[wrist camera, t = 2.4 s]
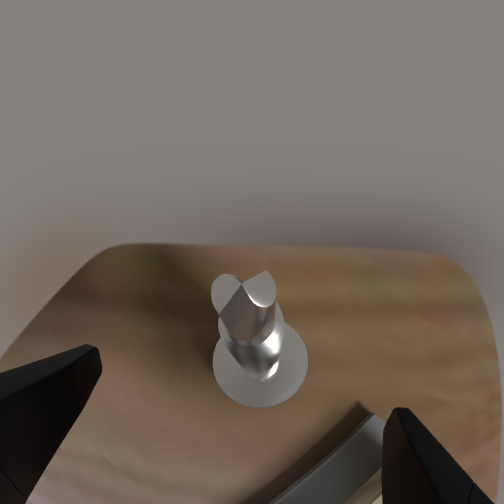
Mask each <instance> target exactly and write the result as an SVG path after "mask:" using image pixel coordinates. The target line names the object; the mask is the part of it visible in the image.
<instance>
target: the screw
mask: <svg viewBox="0 0 504 504" xmlns="http://www.w3.org/2000/svg"><path fill="white" fill-rule="evenodd" d="M211 299H212V303H213V305H214V307H215V309H216V311H217V313H218V315H219V320H218V329H219V333H220V336H221V337H220V339H219V341H218V343H217V344H216V347H215V351H214V354H213V370H214V375H215V377H216V380H217V382H218V384H219V386H220V387H221V389H222V390H223V391H224V393H225V394H227V395H228V396H229V397H230V398H231V399H232V400H234V401H236V402H238V403H240V404H242V405H245V406H249V407H255V408H265V407H272V406H275V405H278V404H280V403H283V402H284V401H286V400H287V399H289V398H290V397H291V396H292V395H293V394H294V393H295V392H296V391H297V390H298V389H299V388H300V386H301V384H302V383H303V381H304V379H305V376H306V373H307V366H308V357H307V350H306V348H305V345H304V342H303V341H302V339H301V337H300V336H299V334H298V333H297V332H296V331H295V330H294V329H293V328H292V327H291V326H289V325H288V324H286V323H285V322H284V318H283V315H282V312H281V309H280V307H279V305H278V303H277V302H276V286H275V282H274V280H273V278H272V276H271V275H270V274H269V273H268V271H267V270H265V271H264V272H262V273H260V274H258V275H256V276H255V277H253V278H251V279H249V280H247V281H246V282H243V281H241V280H240V279H238V278H237V277H235V276H233V275H231V274H223V275H220V276H219V277H217V278H216V279H215V281H214V282H213V284H212V288H211Z"/></svg>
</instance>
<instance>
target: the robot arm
mask: <svg viewBox="0 0 504 504" xmlns="http://www.w3.org/2000/svg"><path fill="white" fill-rule="evenodd" d="M101 373H102V364H101V359H100V354H99V350H98V348H96V347H94V346H91V345H88V344H85V345H82V346H79V347H76V348H74V349H71V350H68V351H65V352H62V353H59V354H56V355H53V356H50V357H47V358H44V359H41V360H38V361H35V362H32V363H29V364H26V365H23V366H20V367H17V368H14V369H11V370H8V371H5V372H2V373H0V504H25V503H26V501H27V499H28V497H29V496H30V494H31V492H32V490H33V489H34V487H35V485H36V484H37V482H38V480H39V479H40V477H41V475H42V474H43V472H44V470H45V469H46V467H47V465H48V464H49V462H50V461H51V459H52V457H53V456H54V454H55V453H56V451H57V449H58V448H59V446H60V445H61V443H62V441H63V440H64V438H65V437H66V435H67V434H68V432H69V430H70V429H71V427H72V426H73V424H74V423H75V421H76V420H77V418H78V417H79V415H80V413H81V412H82V410H83V408H84V407H85V405H86V403H87V401H88V399H89V397H90V395H91V393H92V391H93V389H94V387H95V385H96V383H97V381H98V379H99V377H100V375H101ZM381 484H382V504H494V503H493V502H492V501H491V500H490V499H489V498H488V497H487V495H486V494H485V493H484V492H483V491H482V490H481V489H480V488H479V487H478V486H477V484H476V483H475V482H474V483H473V480H472V479H471V478H470V477H469V475H468V474H467V473H466V472H465V471H464V470H463V469H462V468H461V466H460V465H459V464H458V463H457V462H456V461H455V460H454V459H453V457H452V456H451V455H450V454H449V453H448V452H447V451H446V450H445V448H444V447H443V446H442V445H441V444H440V443H439V442H438V441H437V439H436V438H435V437H434V436H433V435H432V434H431V433H430V432H429V430H428V429H427V428H426V427H425V426H424V425H423V424H422V423H421V422H420V420H419V419H418V418H417V417H416V416H415V415H414V414H413V413H412V411H411V410H410V409H408V408H403V407H396V408H394V409H393V411H392V413H391V415H390V417H389V418H388V420H387V422H386V424H385V426H384V429H383V448H382V468H381Z"/></svg>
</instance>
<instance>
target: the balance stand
mask: <svg viewBox="0 0 504 504" xmlns="http://www.w3.org/2000/svg"><path fill="white" fill-rule="evenodd" d="M384 426H385V423H384V422H383V421H382V420H381V419H380V418H379V417H378V416H377V415H376V414H375V413H369V414H368V415H367V417H366V418H365V419H364V420H363V421H362V422H361V423H360V424H359V425H358V426H357V427H356V428H355V429H354V430H353V431H352V432H351V433H350V434H349V435H348V436H347V437H346V438H345V439H343V440H342V441H341V442H340V443H339V444H338V445H337V446H336V447H335V448H334V449H333V450H332V451H331V452H330V453H328V454H327V455H326V456H325V457H324V458H323V459H322V460H321V461H319V462H318V463H317V464H316V465H315V466H314V467H313V468H311V469H310V470H309V471H308V472H307V473H305V474H304V475H303V476H302V477H301V478H299V479H298V480H297V481H296V482H294V483H293V484H292V485H291V486H289V487H288V488H287V489H285V490H284V491H283V492H282V493H280V494H279V495H278V496H276V497H275V498H274V499H272V500H271V501H270V502H268V503H267V504H382V484H381V468H382V448H383V429H384Z"/></svg>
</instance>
